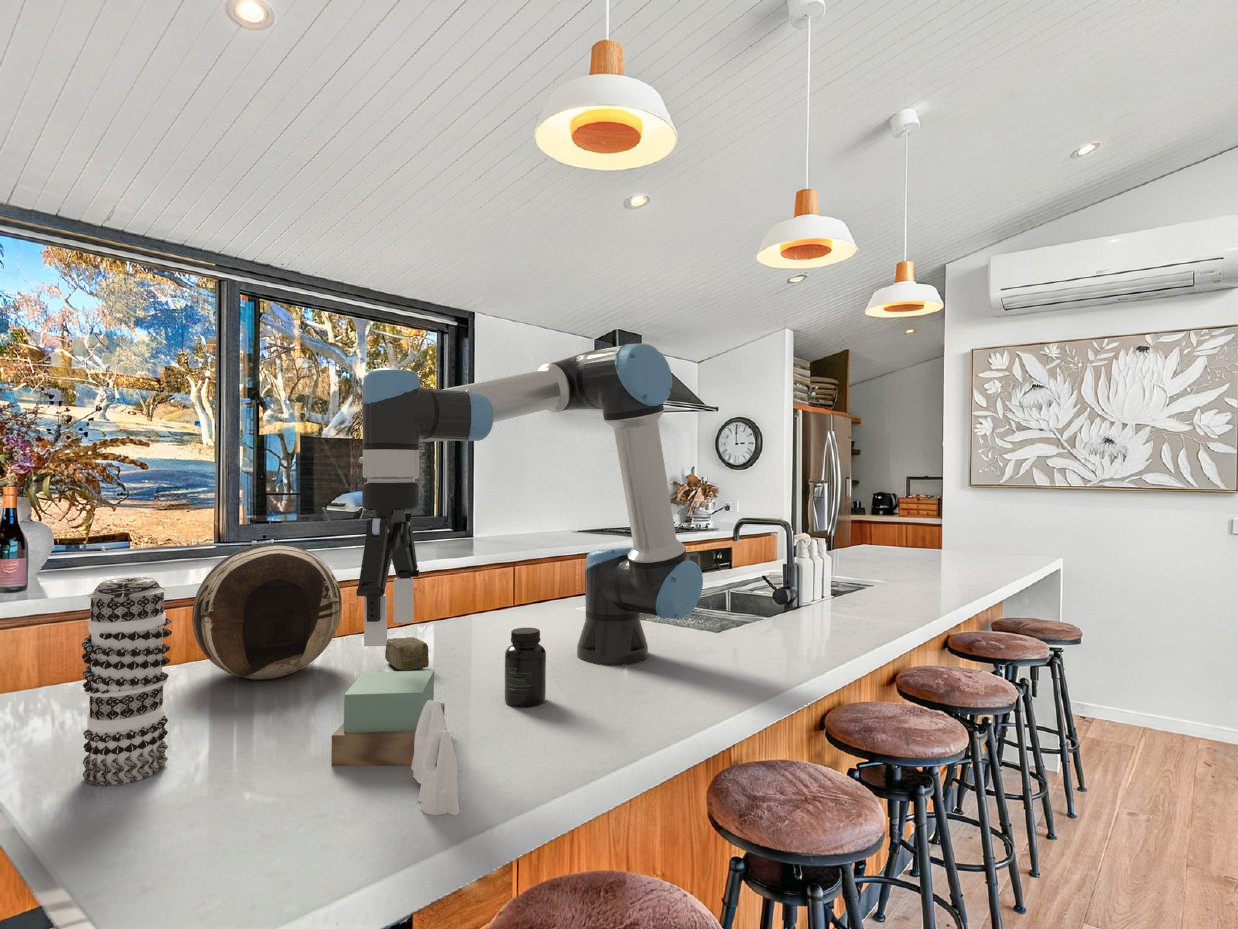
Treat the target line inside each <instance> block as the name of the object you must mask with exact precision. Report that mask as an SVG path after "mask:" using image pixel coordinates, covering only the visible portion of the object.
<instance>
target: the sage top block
mask: <svg viewBox="0 0 1238 929" xmlns="http://www.w3.org/2000/svg"><path fill="white" fill-rule="evenodd" d="M434 687H435V670H399V671H397V670H396V671H395V670H394V671H363V672H362V673H361V674H360V675H359V677H358V678H357V679H356V680H355V681H354V682H353V684H352V685H351V686H350V687H349V689H348V690H347V691H346V692H345V693H344V694H343V723H344V733H355V732H383V731H412V730H416V729H417V725H418V722H419V719H420V716H421V713H422V710H423V708H424V706H425V704H426V702H427V701H428V700H433V701H435V699H434V697H435V696H434V695H435V694H434V693H435V692H434V691H435V688H434Z"/></svg>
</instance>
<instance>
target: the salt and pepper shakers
mask: <svg viewBox="0 0 1238 929" xmlns="http://www.w3.org/2000/svg"><path fill="white" fill-rule="evenodd" d="M440 703H441V702H440V701H439V700H434V701H433V700H428V701H427V702H426V704H425V706H424V708H423V710H422V713H421V716H420V719H419V722H418V725H417V729H416V733H415V741H414V756H413V761H412V766H410V768H411V770H412V772H413V775H412V777H413V778H414V780H416V782H417V783H418V784H420V788H419V792H418V798H417V802H418V803H420V811H421V812H424V813H425V814H428V815H431V816H438V815H443V814H450V815H452V816H457V815H459V814H460V805H459V796H458V782H459V781H458V780H459V778H458V777H459V776H458V774H459V773H458V771H459V770H458V760H457V757H456V751H455V748H454V743H453V741H452V737H451V735H450V732H449V731H448V727H447V722H446V718H445V713H444V714H443V710H442V707H441V704H440Z"/></svg>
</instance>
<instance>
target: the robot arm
mask: <svg viewBox="0 0 1238 929" xmlns="http://www.w3.org/2000/svg"><path fill="white" fill-rule="evenodd" d="M672 388H673V375H672V370H671V367H670V365H669V363H668V360H667V359H666V357H665V356H664V354H663V353H662V352H661V351H659V350H658V348H656V347H655V346H653V345H651V344H649V343H648V344H647V343H626V344H623V345H619V346H611V347H607V348H600V349H595V350H588V351H585V352H582V353H579V354H576V355H573V356H569V357H568V358H564V359H561V360H558V361H553V362H549V363H545V364H543V365H541V366H540V367H539V368H538V370H536V371H531V372H525V373H519V374H514V375H510V376H505V377H500V378H495V379H489V380H484V381H478V382H474V383H468V384H463V385H459V386H453V387H448V388H447V387H446V388H443V389H440V388H438V389H436V388H427V387H424V386H421V381H420V376H419V375H418V373H417V372H416V371H413V370H407V369H400V368H377V369H376V368H375V369H371V370H368V371H367V372H366V373H365V374H364V377H363V384H362V392H361V393H362V394H361V398H362V399H361V402H360V403H361V407H362V456H360V457H359V459H358V462H359V463H360V464H361V465H362V477H363V479H366V480H367V482H364V483H363V485H361V486H362V487H361V488H362V489H361V491H362V492H361V495H362V496H361V499H362V500H361V504H362V505H361V506H362V509H364V510H367V511H375V517H374V518H367V520H366V522H365V523H366V530H365V533H366V534H365V540H364V541H365V542H364V547H363V554H362V559H361V561H362V562H361V567H360V568H361V569H360V574H359V579H358V580H359V582H358V586H357V589H356V596H357V597H363V600H364V602H363V606H364V607H363V619H364V620H363V625H364V626H363V637H364V638H363V646H364V647H386V645H387V640H388V595H387V594H385V593H386V592H385V590H386V587H387V582H388V578H389V573H390V568H391V564H392V565H393V569H394V571H395V576H396V577H395V578H393V623H394V624H396V623H414V578H418V577H420V570H419V569H418V561H417V554H416V547H415V540H414V539H415V538H414V531H413V514H412V512H410V511H407V512H406V510H414V509H417V508H418V507H419V506H420V498H419V497H420V488H419V487H420V484H418V482H416V479H418V478H419V477H420V442H422V443H423V442H426V443H427V442H447V441H448V442H450V441H451V442H452V441H453V442H454V441H455V442H456V441H459V442H465V443H468V442H477V441H478V442H479V441H483V440H484V439H486V438H487V437H488V436H489V434H490V433H491V431H492V428H493V425H494V423H498V422H502V421H504V420H508V419H514V418H517V417H521V416H525V415H530V414H534V413H539V412H541V411H543V412H544V411H549V412H550V413H560V412H562V411H563V412H565V411H572V410H573V411H574V410H601V411H602V416H603V420H604V422H605V423H606V424H608V425H609V426H610V427H611V428H613V432H614V437H615V438H614V439H615V444H616V449H617V456H618V462H619V468H620V474H621V479H622V486H623V491H624V497H625V502H626V508H627V514H628V520H629V525H630V532H631V538H632V542H633V543H632V544H633V546H628V547H616V548H607V549H606V548H605V549H595V550H591V551H590V552H588V553H587V555H586V561H585V563H586V564H585V569H584V573H585V574H584V576H585V577H584V578H585V580H584V581H585V584H584V585H585V586H584V587H585V590H584V591H585V621H584V624H583V627H582V630H581V633H580V636H579V638H578V641H577V642H578V643H577V650H576V652H577V653H576V657H577V658H578V659H579V660H581V661H583V662H586V663H588V664H589V663H590V664H594V665H600V664H602V665H603V666H624V665H623V664H627V665H633V663H634V664H638V663H641V662H643V661H645V660H647V659H648V656H649V645H648V642H647V639H646V636H645V632H644V630H643V627H642V623H641V614H642V615H643V614H644V615H648V616H653V617H658V618H660V619H664V620H665V619H672V620H681V619H683V618H686V617H687V616H689V615H690V614H691V613H692V612H693V611H694V610H695V608H696V607H697V605H698V602H699V599H700V598H701V596H702V592H703V586H704V578H703V576H704V575H703V572H702V569H701V567H700V565H698V564H697V563H696V562H694V561H693V560H691V559H688V555H687V549H686V545H685V544H684V543H683V542H681V541H680V540H679V539H677V535H676V533H677V532H676V528H675V523H674V522H675V521H674V516H673V510H672V509H673V508H672V504H671V497H670V491H669V490H670V489H669V485H668V483H669V482H668V479H667V478H668V477H667V470H666V465H665V464H666V463H665V459H664V453H663V452H664V451H663V446H662V441H661V440H662V439H661V434H660V428H659V423H658V422H659V419H660V418H661V417H662V415H663V414H664V412H665V409H664V403H665V402H666V401H667V400H668V399H669V397H670V395H671V391H670V390H672ZM646 658H647V659H646ZM640 661H641V662H640ZM637 662H638V663H637Z"/></svg>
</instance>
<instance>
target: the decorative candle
mask: <svg viewBox="0 0 1238 929" xmlns="http://www.w3.org/2000/svg"><path fill="white" fill-rule="evenodd" d="M165 591H167V588H166V587H162V586H161V585H160V584H159V583H158V581H157V580H156V579H154V578H153V577H148V576H147V577H146V576H133V577H132V576H131V577H120V578H119V577H118V578H112V579H107V580H105V581H104V580H103V581H101V582H100V583H99V584H98V585H97V586H96V588H95V589H94V590H93V592H91V593H89V594H86V596H87V597H88V598H89V599H90V608H89V609H90V611H89V612H90V618H89V619H88V622H87V623H88V626H87V628H88V629H87V630H88V632H89V635H88V636H86V637H85V638H84V640H83V641H82V642H81V646H82V647H83V651H84V653H82V654H81V659H82V662H83V664H87V666H86V668H85V670H83V671H82V675H83V677H84V680H85V682H83V684H82V687H83V688H84V689H83V690H84V693H85V695H86V696H89V702H88V704H89V706H88V707H89V713H88V714H87V720H86V721H87V722H86V724H87V726H86V727H87V729H86V730H84V731H83V736H84V739H85V740H87V742H85V743H84V744H83V745H82V746H83V748H84V752H85V753H88V754H87V755H86V756H85V757H84V758H83V760H82V764H83V767H84V769H85V770H84V771H83V772H82V777H83V780H84V781H85V782H86V783H88V784H90V783H91V784H92V785H95V786H96V785H98V786H101V785H100V784H104V785H103V786H105V785H106V787H109V786H108V785H110V786H112V785H111V784H116V785H118V784H121V785H123V783H124V784H126V783H125V782H128V783H134V781H135V782H136V780H137V781H139V780H142V778H143V779H146V777H147V778H148V777H150V776H152V775H155V774H157V772H158V771H160V770H161V769H162V768H163V767H164V766H165V765H166V762H168V756H166V750H168V748H169V745H168V744H167V742H166V740H164V739H165V737H166V736H167V735H168V734H169V732H168V730H166V728H165V726H166V724H167V723H168V721H169V719H168V718H167V717H166V715H165V714H166V712H165V702H164V685H165V684H166V683H167V682H168V678H169V674H168V673H166V672H164V670H163V667H165V666H166V665H167V664H169V663H171V659H170V658H169V657H167V656H166V655H165V654H166V653H167V652H169V651H170V650H171V646H170V645H167V644H165V643H163V640H165V639H167V638H168V637H170V636H171V635H172V633H173V631H172V630H171V629H168V628H167V626H168V625H169V624H171V623H172V620H171V619H169V618H167V617H166V613H167V612H165ZM130 781H131V782H130Z"/></svg>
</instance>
